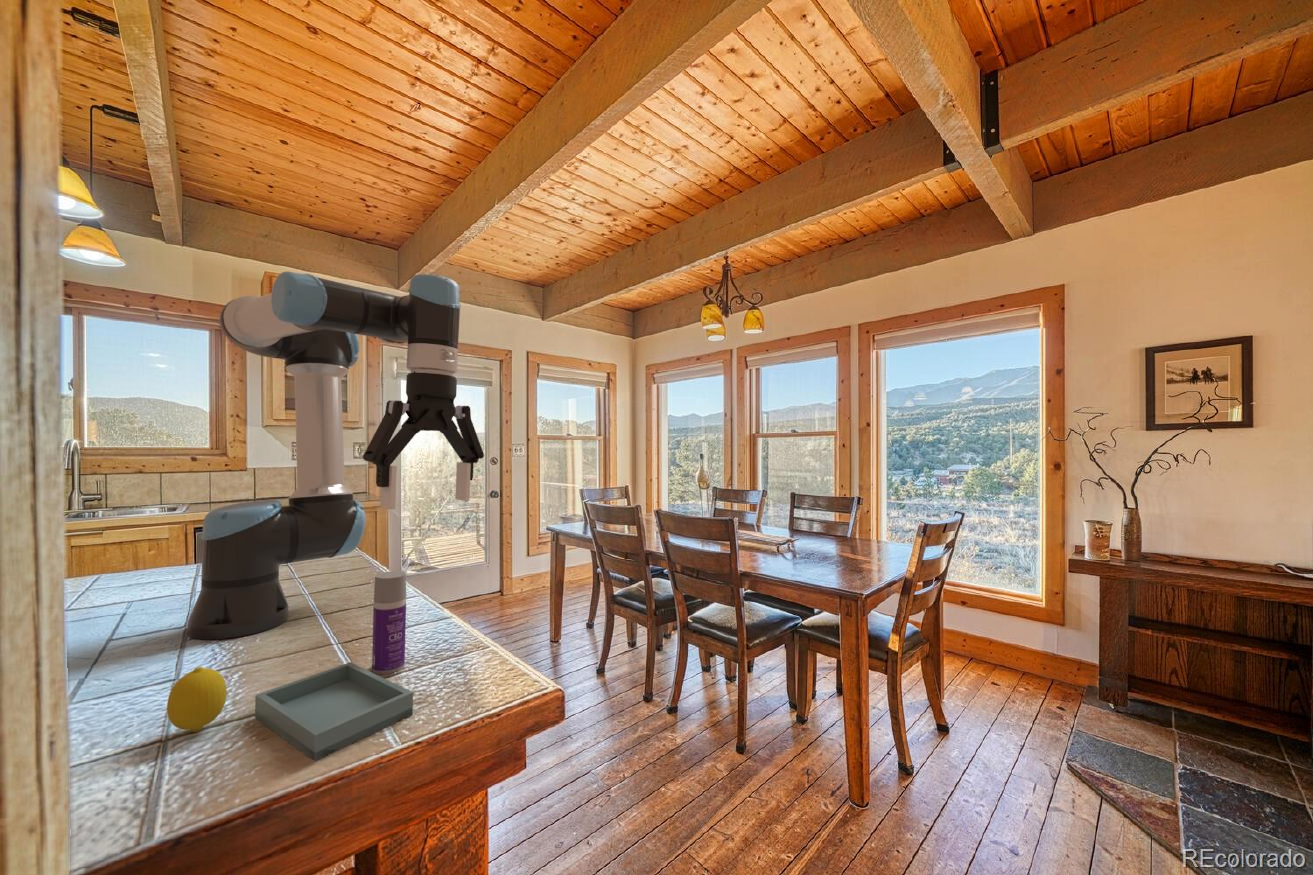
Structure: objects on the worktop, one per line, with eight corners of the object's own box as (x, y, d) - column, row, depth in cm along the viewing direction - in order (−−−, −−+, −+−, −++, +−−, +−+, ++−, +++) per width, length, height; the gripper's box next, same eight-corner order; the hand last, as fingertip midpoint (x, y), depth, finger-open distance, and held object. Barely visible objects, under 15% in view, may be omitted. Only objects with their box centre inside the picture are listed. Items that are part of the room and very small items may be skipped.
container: (390, 675, 80) (393, 579, 80) (364, 672, 81) (367, 577, 81) (411, 662, 84) (413, 571, 84) (386, 659, 85) (388, 569, 85)
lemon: (191, 719, 66) (192, 658, 66) (236, 718, 67) (238, 657, 67) (153, 745, 61) (154, 678, 61) (202, 744, 61) (204, 677, 61)
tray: (254, 717, 67) (255, 694, 67) (349, 681, 77) (350, 662, 77) (314, 761, 59) (315, 735, 59) (412, 714, 69) (413, 692, 69)
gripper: (369, 362, 71) (364, 515, 71) (507, 381, 92) (502, 499, 92) (339, 364, 74) (334, 509, 75) (478, 381, 96) (474, 494, 96)
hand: (427, 504), depth 83 cm, fingers open, 13 cm apart
